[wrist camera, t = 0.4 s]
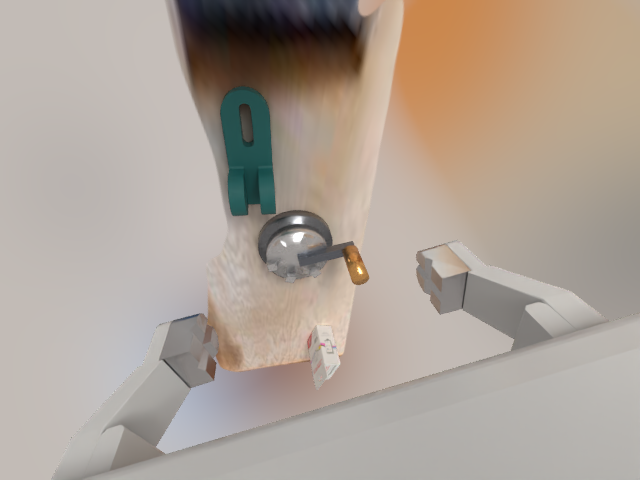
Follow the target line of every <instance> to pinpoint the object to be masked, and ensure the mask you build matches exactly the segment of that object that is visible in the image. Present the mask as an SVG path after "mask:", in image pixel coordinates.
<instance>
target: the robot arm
mask: <svg viewBox="0 0 640 480" xmlns="http://www.w3.org/2000/svg"><path fill="white" fill-rule="evenodd" d="M416 260H417V261H418V263H419V266H418V267H417V269H416V273H417V278H418V282H419V284H420V286H421V288H422V289H423V291H424V292H425V293H427V294H429V295H430V296H431V297H430V301H431V303H432V304H433V306H434V307H435V308H436V310H437V311H438V313H439V314H444V313H448V312H452V311H456V310H459V309H463V310H464V311H466V312H467V313H469V314H471V315H473V316H474V317H476V318H478V319H480V320H481V321H483V322H485V323H487V324H488V325H490V326H492V327H494V328H495V329H497V330H499V331H501V332H502V333H504V334H506V335H508V336H509V337H511V338H513V339H515V340H514V343H513V346H512V349H511V351H509V352H506V353H503V354H499V355H496V356H493V357H489V358H486V359H483V360H479V361H476V362H473V363H469V364H466V365H462V366H459V367H456V368H453V369H449V370H446V371H443V372H439V373H436V374H432V375H429V376H426V377H422V378H419V379H416V380H412V381H409V382H406V383H402V384H399V385H396V386H392V387H389V388H386V389H382V390H379V391H376V392H372V393H369V394H366V395H362V396H359V397H356V398H352V399H349V400H346V401H342V402H339V403H336V404H332V405H329V406H326V407H323V408H319V409H316V410H313V411H309V412H306V413H302V414H299V415H296V416H292V417H289V418H286V419H282V420H279V421H276V422H272V423H269V424H266V425H262V426H259V427H256V428H252V429H249V430H246V431H242V432H239V433H236V434H233V435H229V436H226V437H222V438H219V439H215V440H212V441H209V442H205V443H202V444H199V445H196V446H192V447H189V448H185V449H182V450H179V451H176V452H172V453H169V454H165V453H163V452H162V451H160V450H159V449H157V448H156V446H157V444H158V442H159V441H160V439H161V437H162V436H163V434H164V433H165V431H166V429H167V428H168V426H169V424H170V423H171V421H172V419H173V418H174V416H175V415H176V412H177V411H178V410H179V408H180V406H181V405H182V403H183V401H184V400H185V398H186V396H187V395H188V393H189V391H190V390H191V389H190V388H192V387H195V386H199V385H202V384H205V383H208V382H211V381H214V376H215V370H216V362H215V361H214V359H213V358H214V357H215V355H216V354H217V352H218V347H219V343H218V336H217V334H216V331H215V330H214V328H213V327H212V326H209V325H207V320H208V319H207V318H206V317H205V315H204V314H196V315H192V316H188V317H185V318H181V319H177V320H173V321H170V322H166V323H162V324H160V325H159V326H157V327H156V330H155V332H154V335H153V338H152V341H151V343H150V346H149V349H148V351H147V354H146V357H145V359H144V362H143V365H142V366H140V367H137V368H136V370H135V371H134V372H133V373H132V374H131V375H130V376H129V377H128V378H127V379H126V380H125V381H124V382H123V383H122V384H121V385H120V387H119V388H118V389H117V390H116V391H115V392H114V393H113V394H112V395H111V396H110V397H109V398H108V399H107V400H106V402H105V403H104V404H103V405H102V406H101V407H100V408H99V409H98V410H97V411H96V412H95V413H94V414H93V415H92V416H91V418H90V419H89V420H88V421H87V422H86V423H85V424H84V425H83V426H82V427H81V428H80V429H79V430H78V431H77V433H76V434H75V435H74V436H73V437H72V438H71V440H70V442H69V444H68V446H67V448H66V450H65V452H64V455H63V457H62V459H61V461H60V463H59V465H58V467H57V469H56V471H55V473H54V475H53V477H52V480H640V313H636V314H633V315H629V316H626V317H623V318H620V319H616V320H613V321H609V320H607V319H606V318H604V317H603V316H602V315H600V314H599V313H598V312H597V311H596V310H594V309H593V308H592V307H590V306H589V305H588V304H586V303H585V302H584V301H583V300H581V299H580V298H579V297H577V296H576V295H575V294H573V293H572V292H571V291H568V290H565V289H562V288H559V287H555V286H552V285H549V284H546V283H543V282H540V281H537V280H534V279H531V278H528V277H525V276H522V275H518V274H515V273H512V272H509V271H506V270H503V269H500V268H497V267H494V266H485V264H484V263H483V262H481V261H480V260H479V259H478V258H477V257H476V256H475V255H474V254H473V253H472V252H471V251H470V250H468V249H467V248H466V247H465V246H464V245H463V244H462V243H461V242H460V241H457V240H455V241H452V242H448V243H445V244H443V245H439V246H435V247H432V248H428V249H425V250H422V251H418V252H417V254H416Z"/></svg>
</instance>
